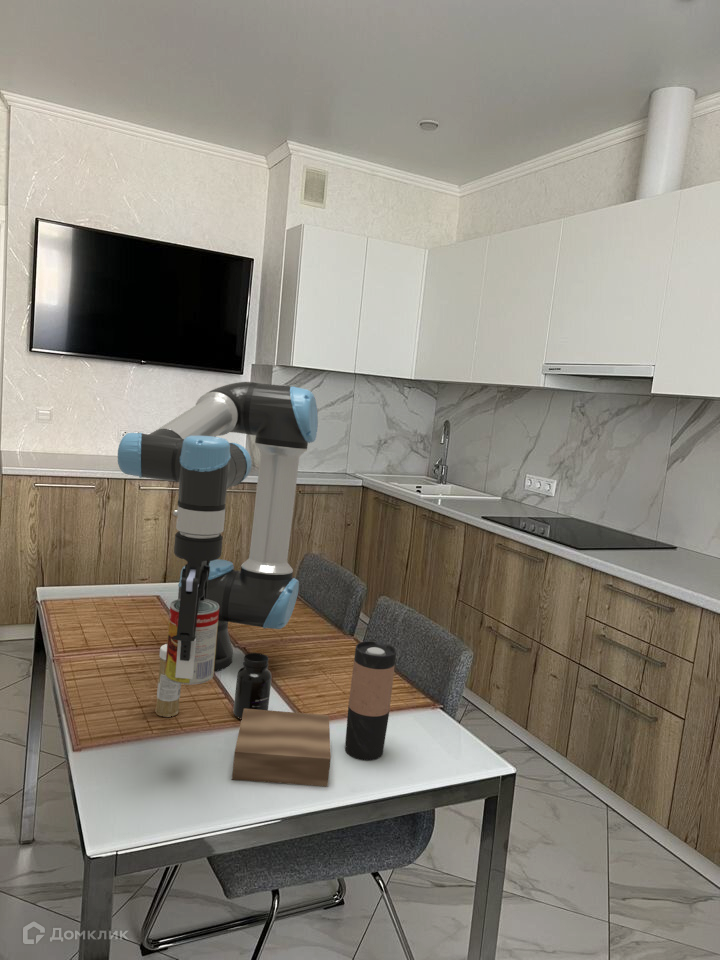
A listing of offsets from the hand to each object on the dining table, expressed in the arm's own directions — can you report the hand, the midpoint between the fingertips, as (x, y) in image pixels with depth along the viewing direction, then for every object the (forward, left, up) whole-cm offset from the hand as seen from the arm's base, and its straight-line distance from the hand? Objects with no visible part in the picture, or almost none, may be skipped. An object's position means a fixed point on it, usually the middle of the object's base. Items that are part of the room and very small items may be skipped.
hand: (188, 666), depth 123 cm
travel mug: (-11, +32, -18) cm, 38 cm away
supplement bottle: (-22, +10, -18) cm, 30 cm away
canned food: (0, 0, -2) cm, 2 cm away
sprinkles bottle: (-20, -6, -18) cm, 28 cm away
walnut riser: (-6, +17, -18) cm, 26 cm away
